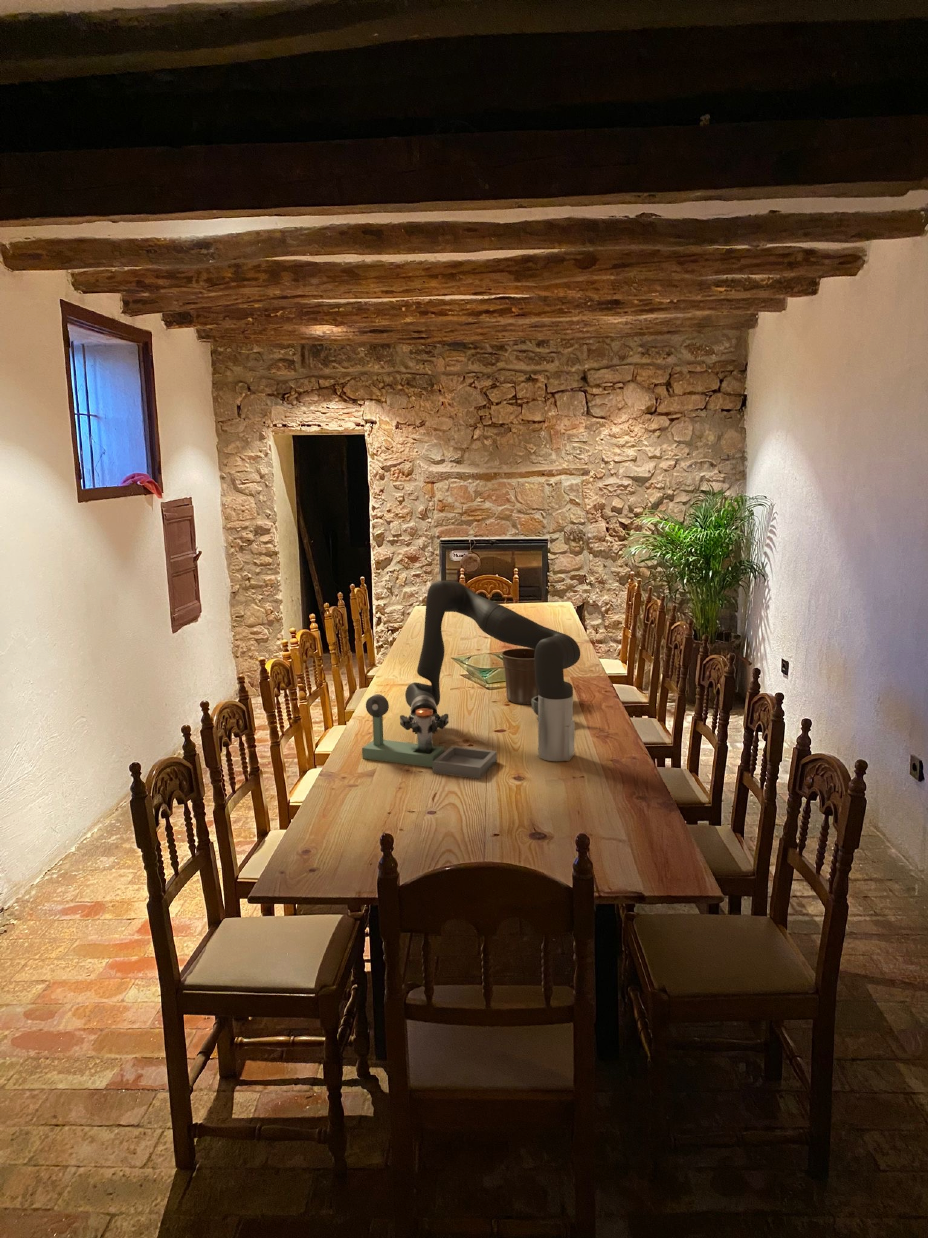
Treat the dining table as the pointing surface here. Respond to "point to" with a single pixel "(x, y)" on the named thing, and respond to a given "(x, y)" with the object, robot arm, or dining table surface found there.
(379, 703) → the pulley bracket
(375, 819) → the dining table surface
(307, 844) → the dining table surface
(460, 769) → the pin tray
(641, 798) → the dining table surface
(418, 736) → the pin
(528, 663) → the plant pot
